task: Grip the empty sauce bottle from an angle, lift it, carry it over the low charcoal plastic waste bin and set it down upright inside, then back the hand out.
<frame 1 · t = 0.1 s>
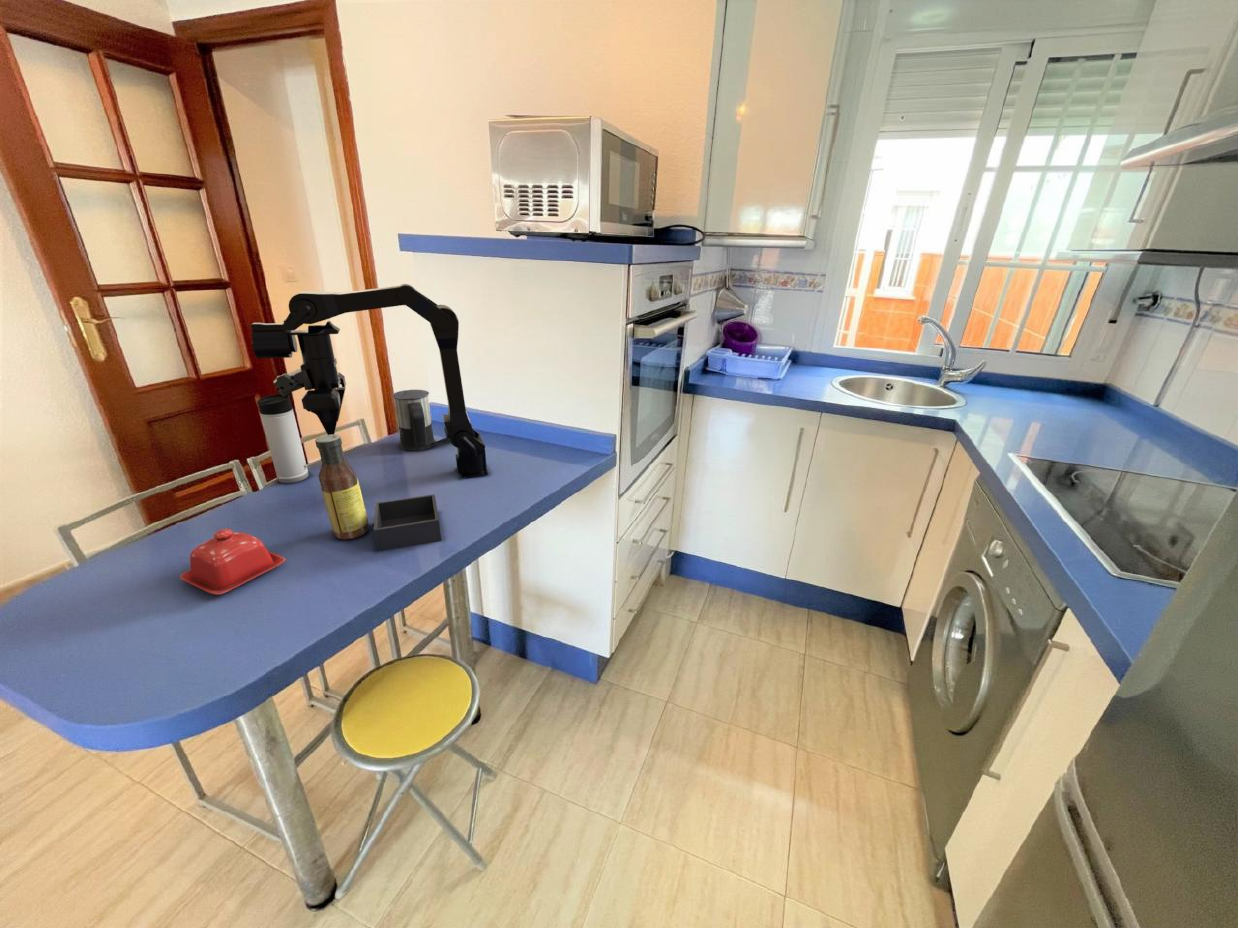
hand: (333, 428, 109), 15 cm above the table, tool pointing down, fingers open, 9 cm apart
bin: (409, 530, 99), on the table
butter dish: (236, 574, 85), on the table
milk frother: (433, 445, 140), on the table
travel mug: (294, 478, 119), on the table
sauce bottle: (351, 533, 98), on the table
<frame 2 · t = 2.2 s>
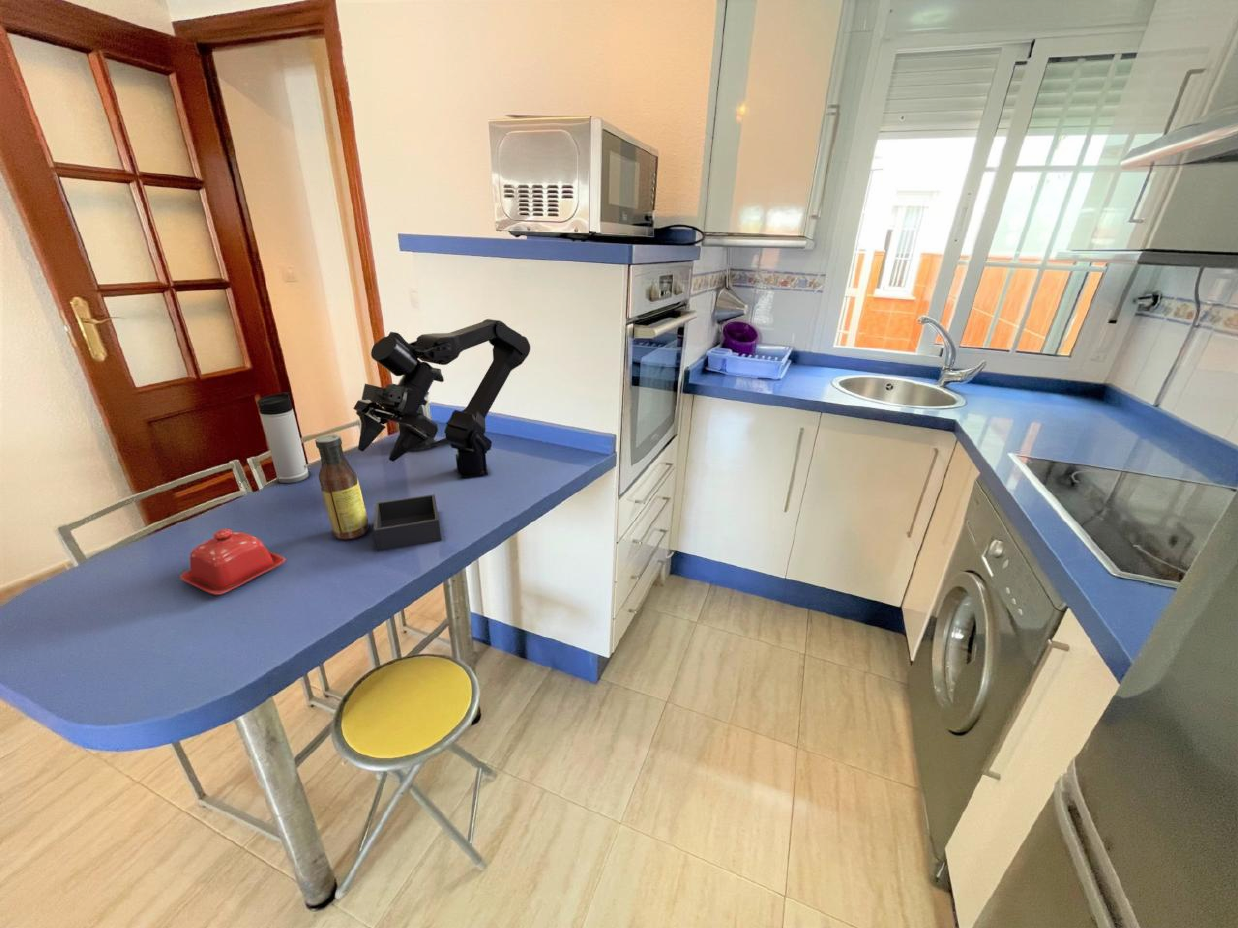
hand: (375, 455, 99), 13 cm above the table, tool tilted 45°, fingers open, 9 cm apart
nothing on the table moved.
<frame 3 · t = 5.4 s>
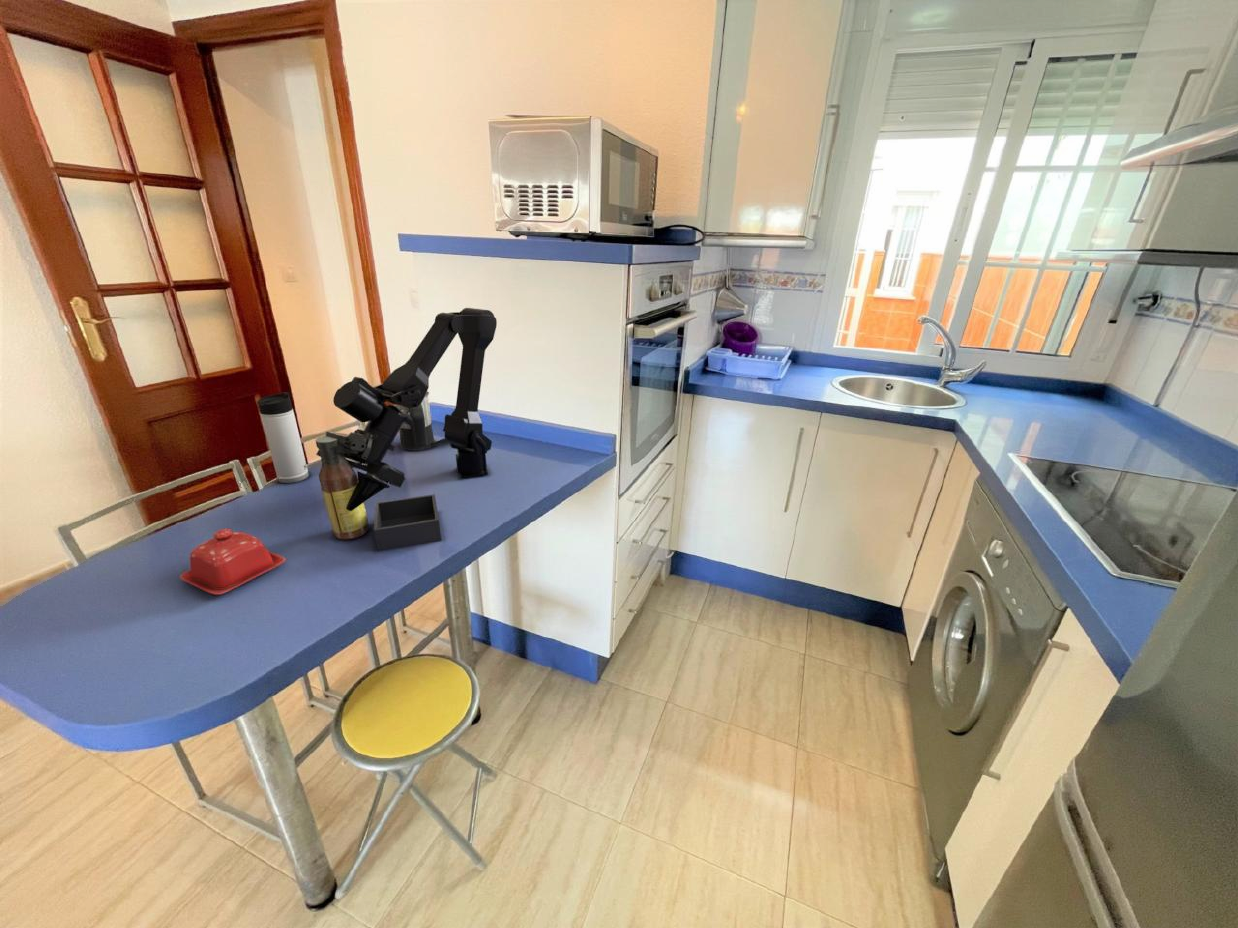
hand: (337, 505, 94), 7 cm above the table, tool tilted 45°, fingers closed on sauce bottle, 6 cm apart
sauce bottle: (351, 533, 98), on the table, touching gripper
everything else where it was.
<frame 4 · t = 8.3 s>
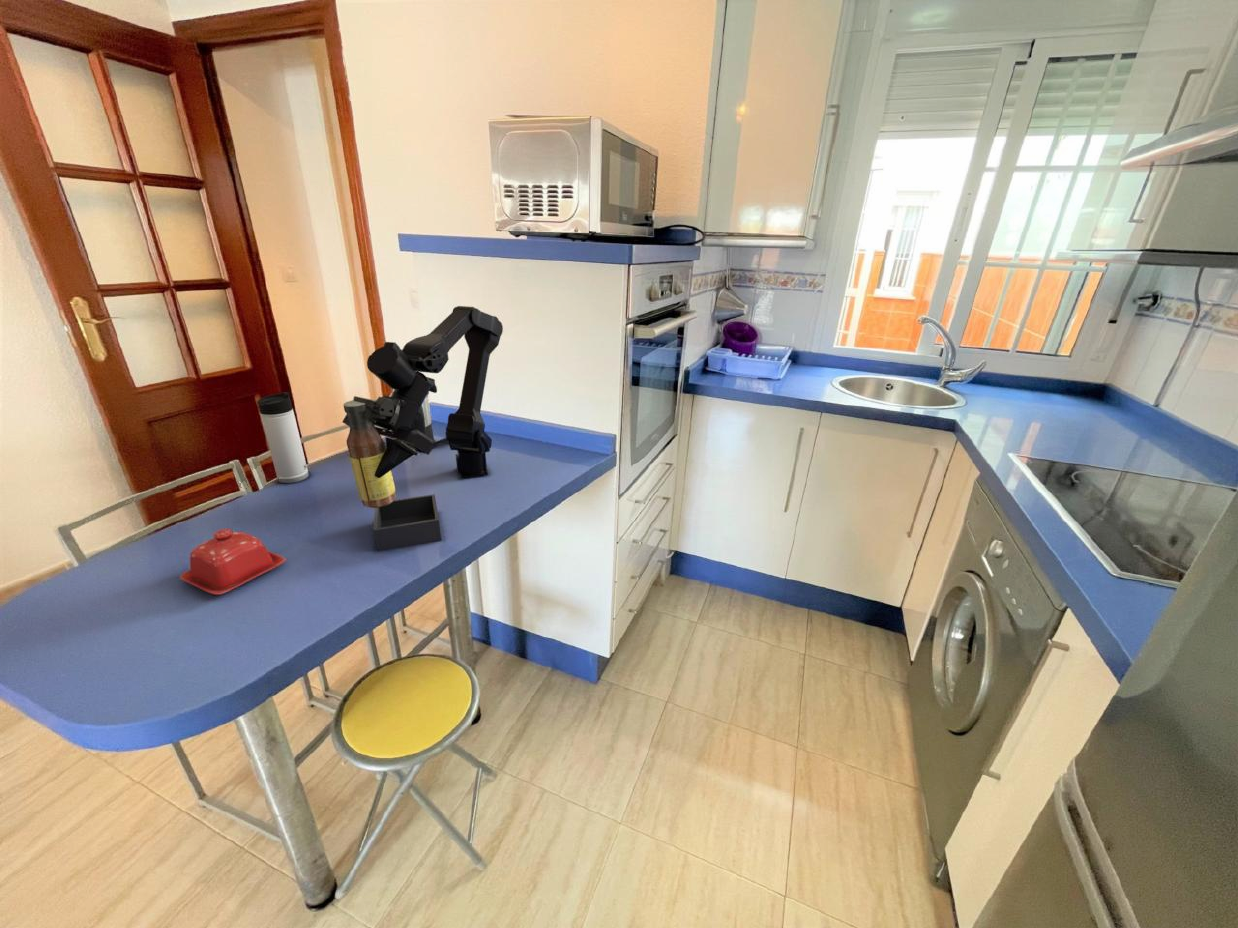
hand: (365, 473, 92), 13 cm above the table, tool tilted 45°, fingers closed on sauce bottle, 6 cm apart
sauce bottle: (378, 502, 96), point 6 cm above the table, touching gripper
everything else where it was.
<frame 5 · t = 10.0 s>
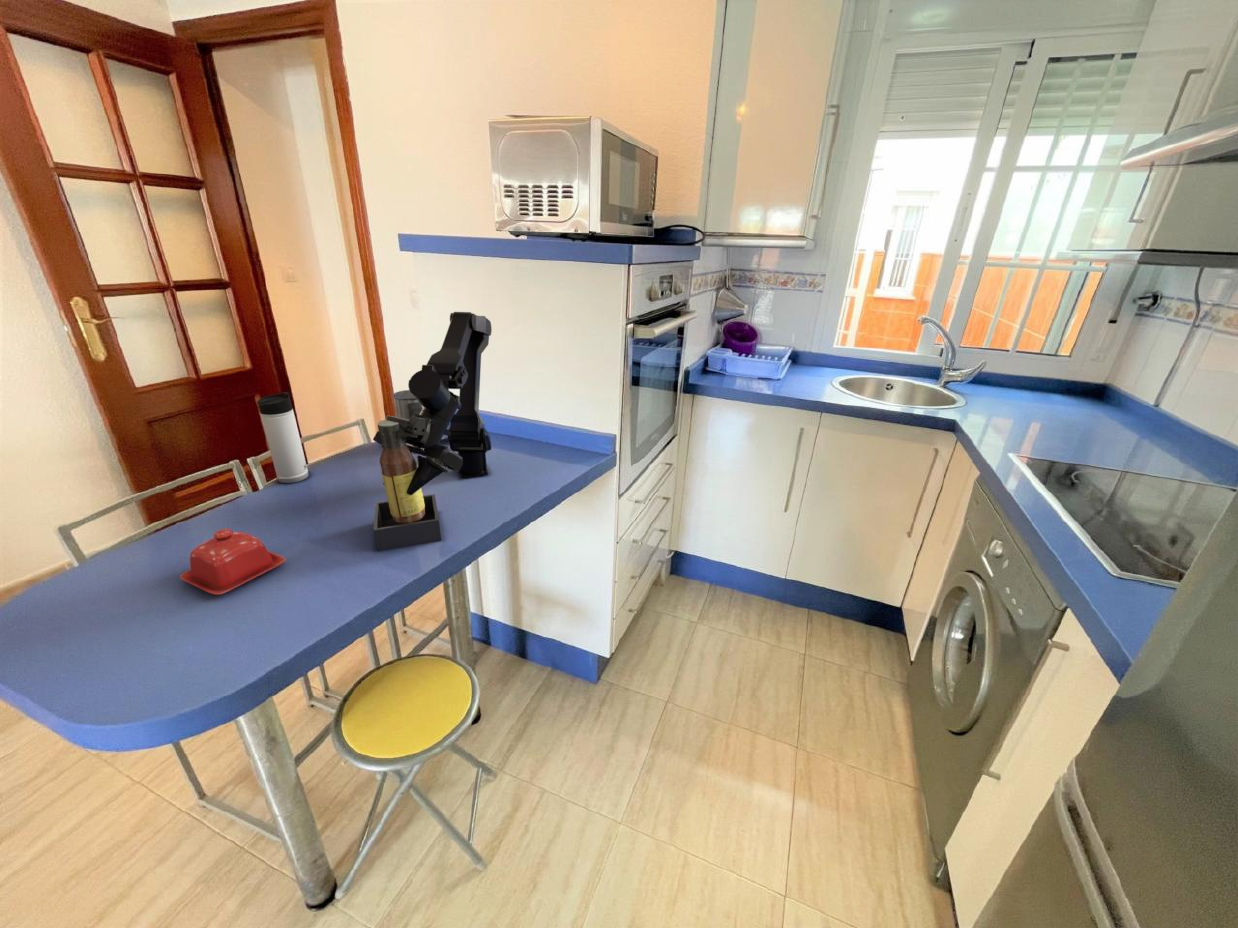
hand: (396, 490, 94), 10 cm above the table, tool tilted 45°, fingers closed on sauce bottle, 6 cm apart
sauce bottle: (408, 518, 98), point 3 cm above the table, touching gripper
everything else where it was.
when the fingers open (7 cm above the table, at t = 11.2 s): sauce bottle stays where it is, resting on bin.
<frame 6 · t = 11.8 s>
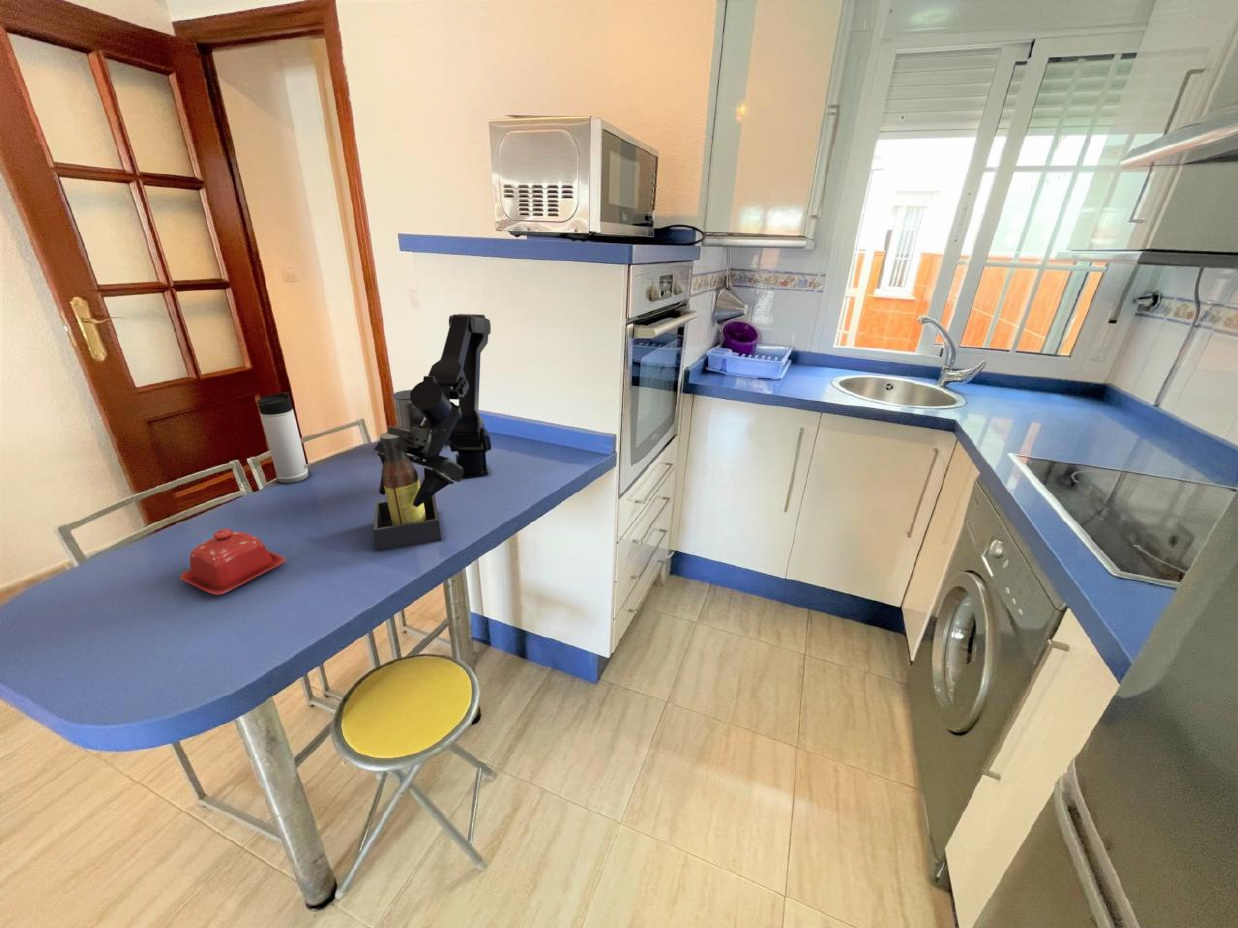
hand: (397, 499, 95), 8 cm above the table, tool tilted 45°, fingers open, 9 cm apart
sauce bottle: (409, 529, 99), resting on bin
everything else where it was.
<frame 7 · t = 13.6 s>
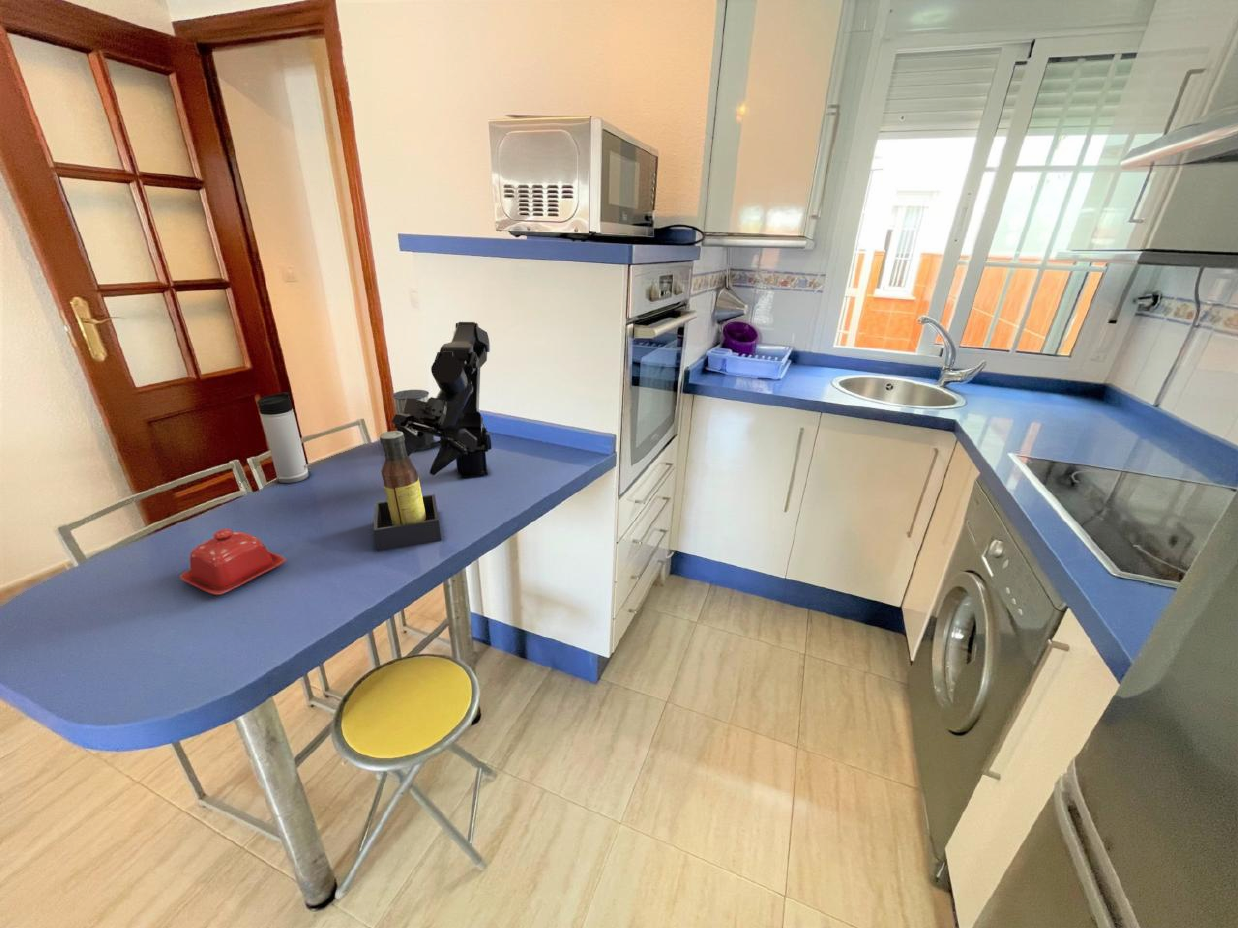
hand: (414, 469, 99), 11 cm above the table, tool tilted 45°, fingers open, 9 cm apart
nothing on the table moved.
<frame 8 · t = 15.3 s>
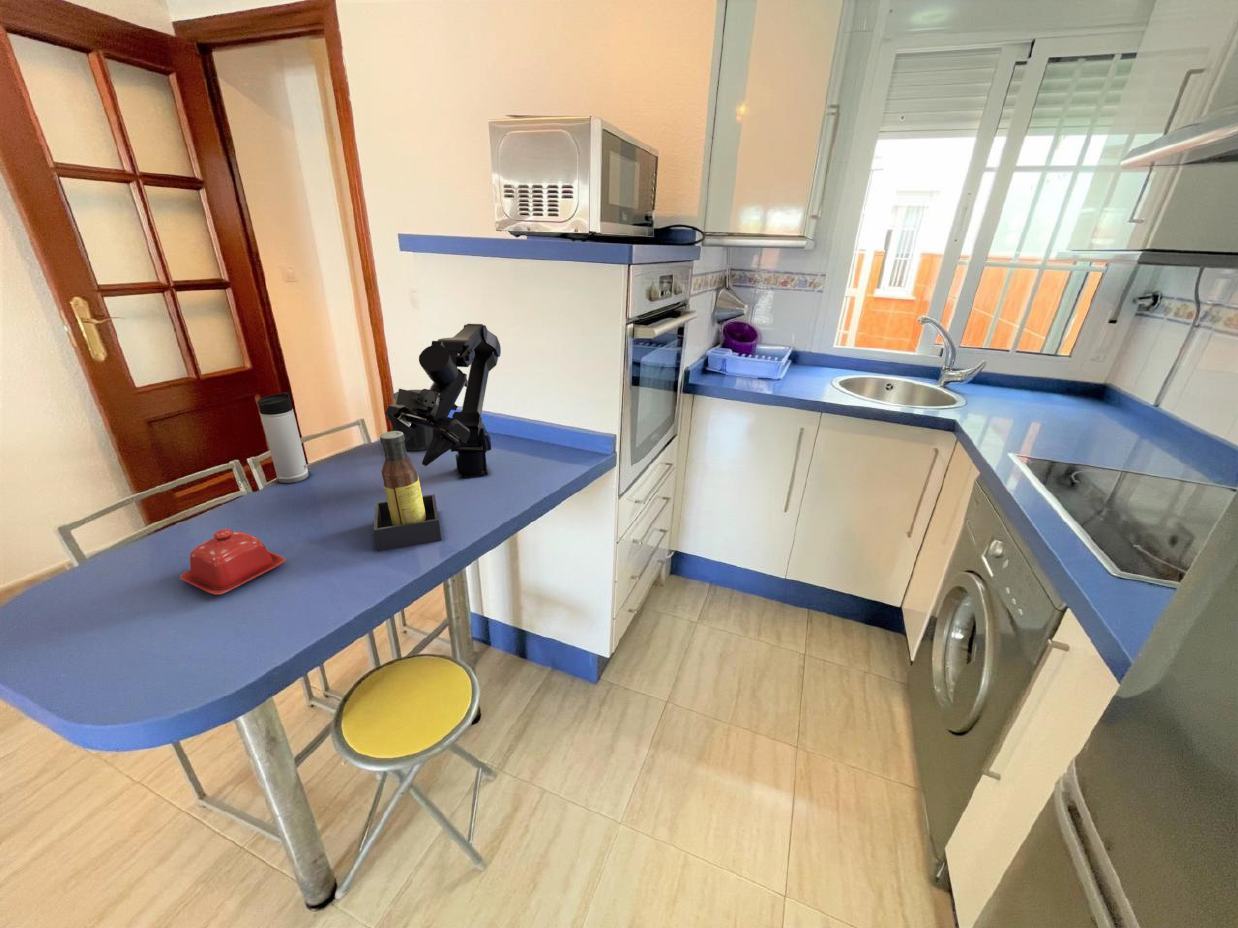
hand: (407, 460, 100), 13 cm above the table, tool tilted 45°, fingers open, 9 cm apart
nothing on the table moved.
at the end: sauce bottle inside the target area in the bin (0.1 cm from its centre), point 0.3 cm above the bin's base; sauce bottle tilted 0°; the gripper is holding nothing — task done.
